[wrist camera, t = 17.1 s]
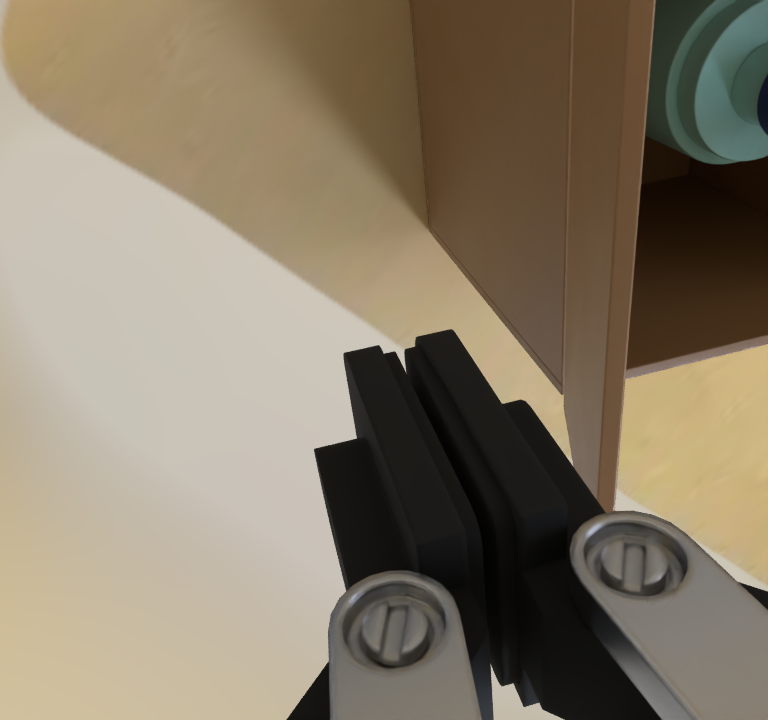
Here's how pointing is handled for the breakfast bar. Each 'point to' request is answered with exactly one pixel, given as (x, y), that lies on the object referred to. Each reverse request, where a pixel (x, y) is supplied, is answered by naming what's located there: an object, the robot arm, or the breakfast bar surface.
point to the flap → (603, 226)
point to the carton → (551, 194)
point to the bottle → (710, 79)
